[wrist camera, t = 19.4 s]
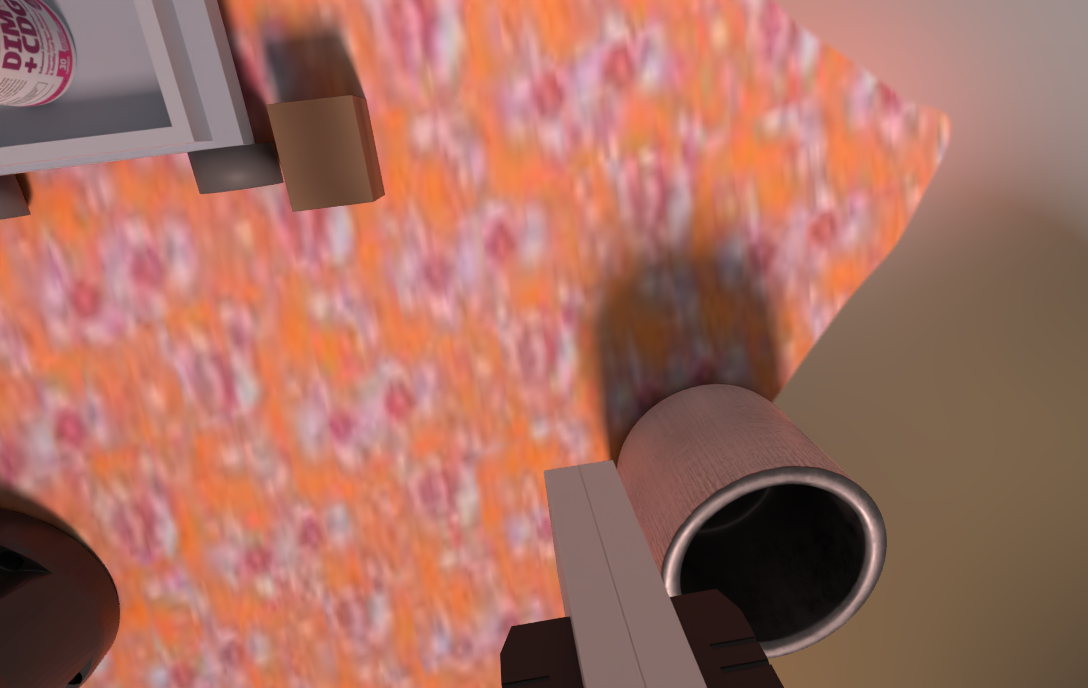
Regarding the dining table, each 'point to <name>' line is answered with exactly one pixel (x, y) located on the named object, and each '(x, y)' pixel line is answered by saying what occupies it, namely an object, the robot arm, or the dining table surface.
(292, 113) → the block
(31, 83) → the pill bottle
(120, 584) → the dining table surface
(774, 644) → the planter
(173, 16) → the trolley
